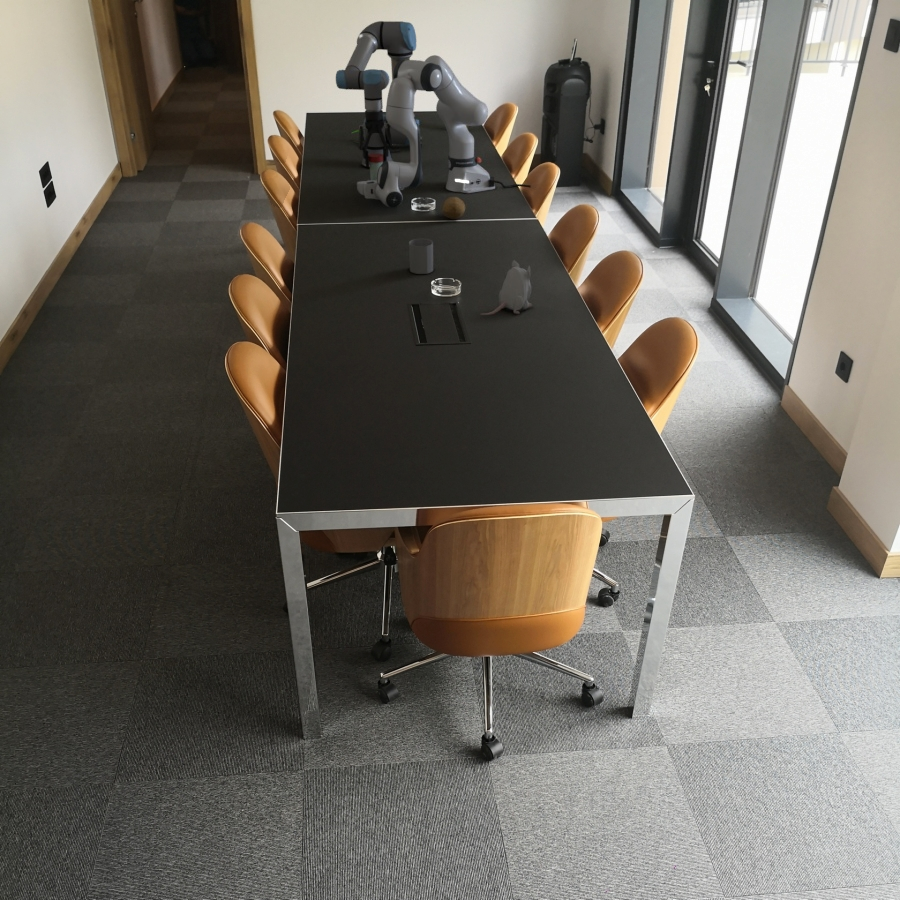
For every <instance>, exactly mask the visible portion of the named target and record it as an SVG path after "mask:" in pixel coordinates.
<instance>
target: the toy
mask: <svg viewBox="0 0 900 900" xmlns="http://www.w3.org/2000/svg"><path fill="white" fill-rule="evenodd" d="M531 272H532V271H531V265H530V264H529V265H528V267H527V270H526V269H525V268H522V267H520V264H519V263H518V261H517V260H515V259H513V260H512V263H511V268H510V269H509V270H508V271H507V273H506V275H505V277H504V280H503V283H502V285H501V286H502V287H501V289H500V290H499V293H498V302H499V303H498V304H499V306H498V307H496V308H495V309H494V310H493V311H490V312H486V313H481V315H483V316H490V315H491V316H492V315H494V314H496V313H498V312H500V311H501V310H504V309H505V308H507V309H509V310H512V311H513V314H516V315H519V314H521V313H520V311H519V310H521V309H522V310H527V309H529V308H533V304H532V303H530V302H529V299H530V298H531V294H532V285H531V282H530V281H531V280H530V279H531V275H532V273H531Z"/></svg>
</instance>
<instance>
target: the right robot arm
mask: <svg viewBox="0 0 900 900" xmlns="http://www.w3.org/2000/svg"><path fill="white" fill-rule="evenodd" d="M393 77H394V80H393V81H392V80H391V82H390V85H389V88H388V93H387V98H386V106H385V114H386V119H387V122H388V123H389V125H390V126H391V127H392V128H394V129H395V130H397V131H399V132H400V133H402V134H404V135H405V136H406V137H407V138H408V139H409V142H410V145H409V155H410V156H409V157H410V161H409V162H401V161H394V160H393V161H385V162H383V163H382V164H381V166H380V167H379V169H378V173H377V180H372V181H371V179H367V180H361V181H357V182H356V190H357V192H358V193H359V194H360V195H362V196H364V198H365V199H368V200H378V201H380V202H381V203H382V204H383V205H384V206H386V207H387V208H390V209H391V208H397V207H399V206H400V205H401V204H402V202H403V199H404V198H403V194H402V191H403V190H404V189H405V188H407V189H410V190H411V189H412V190H415V189H417V188H418V187H419V186H420V185H421V184H423V180H424V179H423V178H424V173H423V172H424V171H423V163H422V139H421V138H422V137H421V128H420V124H419V125H418V123H416V122H415V119H416V118H415V119H414V115H413V113H414V109H415V94H416V92H417V91H421V92H424V91H425V92H433V93H434V94H435V96H436V98H437V99H438V101H437V103H436V105H435V106H436V109H435V110H436V114H437V116H438V117H439V118H440V121H442V123H443V124H444V127H445V129H446V133H447V137H448V152H449V153H448V157H447V169H448V175H447V179H446V185H445V189H446V190H448V191H451V192H456V193H462V194H463V193H464V194H473V193H479V192H485V191H491V190H495V189H496V184H500V185H501V186H502V187H503V188H504V189H509V188H514V187H523V188H531V187H532V185H530V184H521V183H515V184H510V185H505V184H504V182H502V181H500V180H495V176H490V173H489V172H488V171H487V170H486V169H485V168H483V167H482V166H481V165H480V164H481V162H482V158H480V157H479V156H476V155H475V138H474V136H473V134H472V133H471V132H470V131H469V129H468V128H467V127H466V125H468V127H469V126H470V127H477V126H479V127H480V126H482V125H484V124H485V123H486V122H487V119H488V116H489V109H488V106H487V104H486V102H483V101H482V100H480V99H478V98H477V97H476V96H475V95H473V94H472V93H471V92H470V91H469V90H468V89H467V88H466V87H464V86H463V85H462V83H461V82H460V80H459V79H458V77H457V76H456V74H455V73H454V71H453V70H452V68H451V67H450V65H449V64H448V63H447V62H446V60H444V59H443V57H441V56H440V55H436V54H433V55H430V56H428V57H427V58H426V59H424V60H421V59H420V60H417V59H410V60H409V59H404V60H400V61H399V62H398V63H397V64H396V66H395V68H394V73H393Z"/></svg>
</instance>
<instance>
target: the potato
mask: <svg viewBox="0 0 900 900" xmlns="http://www.w3.org/2000/svg"><path fill="white" fill-rule="evenodd" d="M465 210H466V204H465V202H464V200H462V199H460V197H458V196H449V197H447V198H446V200H445V201H444V202H443V203H442V207H441V213H442V214H443V216H445V217H446V218H448V219H450V220H458V219H460V218H462V216H464V214H465Z"/></svg>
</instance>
